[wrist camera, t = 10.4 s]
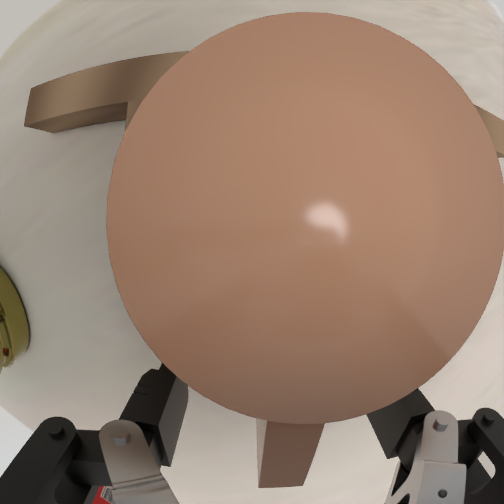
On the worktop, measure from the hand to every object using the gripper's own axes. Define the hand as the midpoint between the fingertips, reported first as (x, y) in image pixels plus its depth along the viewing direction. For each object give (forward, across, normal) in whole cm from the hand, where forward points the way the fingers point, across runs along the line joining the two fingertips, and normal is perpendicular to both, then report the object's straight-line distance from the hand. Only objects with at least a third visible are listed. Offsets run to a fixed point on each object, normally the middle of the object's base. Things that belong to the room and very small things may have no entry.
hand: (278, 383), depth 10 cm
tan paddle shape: (+4, 0, -4) cm, 5 cm away
